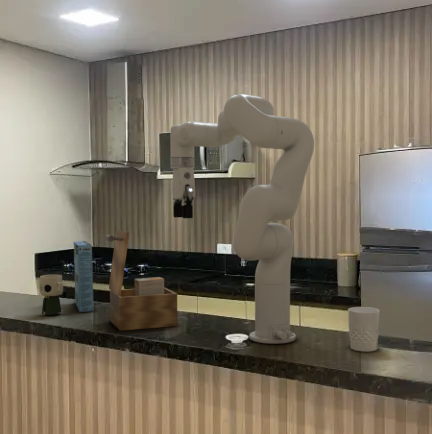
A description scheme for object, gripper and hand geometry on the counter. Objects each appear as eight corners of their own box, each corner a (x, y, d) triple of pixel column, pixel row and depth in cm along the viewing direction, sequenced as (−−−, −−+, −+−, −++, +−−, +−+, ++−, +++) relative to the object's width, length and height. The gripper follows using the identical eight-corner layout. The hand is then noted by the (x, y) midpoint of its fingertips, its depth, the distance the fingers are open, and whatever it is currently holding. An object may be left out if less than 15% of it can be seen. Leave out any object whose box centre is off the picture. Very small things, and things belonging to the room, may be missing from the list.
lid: (119, 230, 188) (103, 228, 186) (129, 232, 175) (112, 230, 173) (111, 288, 188) (95, 287, 186) (120, 295, 174) (103, 294, 173)
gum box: (93, 311, 204) (92, 244, 203) (78, 312, 203) (77, 245, 202) (88, 302, 223) (87, 240, 222) (74, 303, 221) (73, 241, 220)
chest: (164, 317, 195) (164, 287, 194) (177, 325, 181) (177, 293, 181) (110, 321, 188) (109, 290, 188) (119, 330, 175) (119, 297, 174)
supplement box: (159, 317, 189) (159, 276, 189) (165, 320, 185) (164, 278, 184) (134, 320, 186) (134, 278, 185) (139, 323, 181) (139, 280, 181)
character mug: (32, 314, 199) (31, 275, 199) (49, 311, 205) (48, 273, 205) (54, 318, 193) (53, 278, 193) (71, 314, 199) (70, 275, 198)
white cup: (346, 344, 157) (346, 306, 157) (376, 345, 156) (377, 307, 156) (349, 352, 149) (350, 312, 149) (382, 352, 149) (382, 312, 148)
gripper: (202, 162, 183) (203, 218, 184) (185, 165, 200) (185, 216, 200) (179, 162, 181) (179, 218, 182) (163, 165, 197) (164, 217, 198)
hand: (182, 217), depth 191 cm, fingers open, 9 cm apart
